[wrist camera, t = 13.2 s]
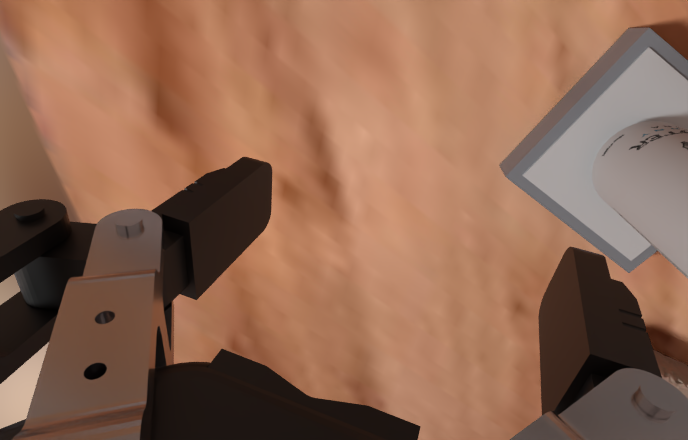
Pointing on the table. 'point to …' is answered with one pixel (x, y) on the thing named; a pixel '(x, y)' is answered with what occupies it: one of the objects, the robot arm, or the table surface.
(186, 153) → the table surface
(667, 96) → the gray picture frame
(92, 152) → the table surface
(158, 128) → the table surface
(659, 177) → the energy drink can
